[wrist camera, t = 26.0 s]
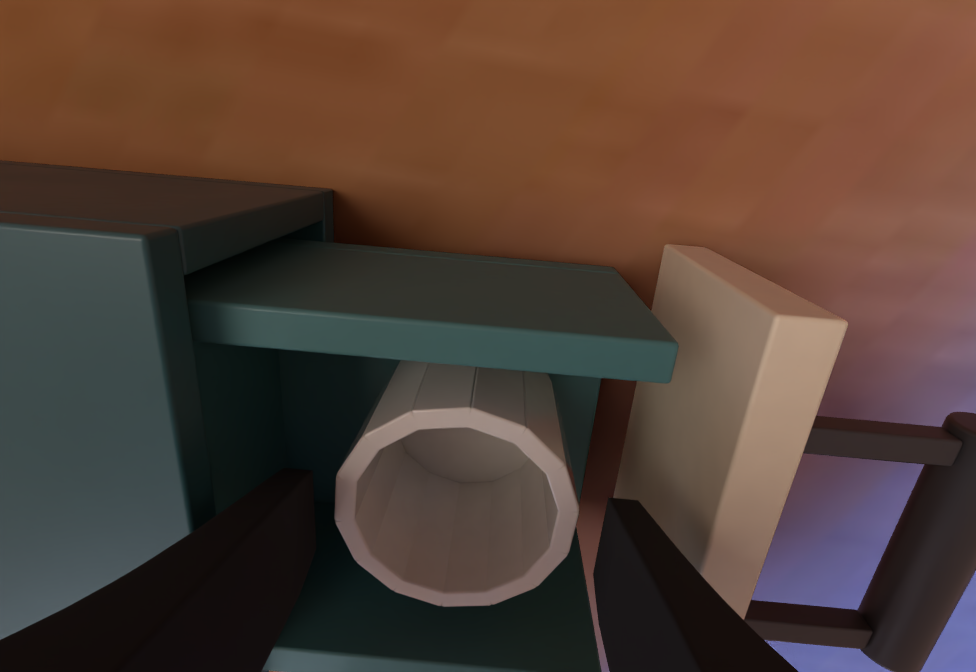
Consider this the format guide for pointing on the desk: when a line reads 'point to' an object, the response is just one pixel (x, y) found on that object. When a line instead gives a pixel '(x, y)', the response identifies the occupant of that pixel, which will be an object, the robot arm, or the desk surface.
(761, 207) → the desk surface
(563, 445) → the cup
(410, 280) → the drawer
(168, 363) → the cabinet
